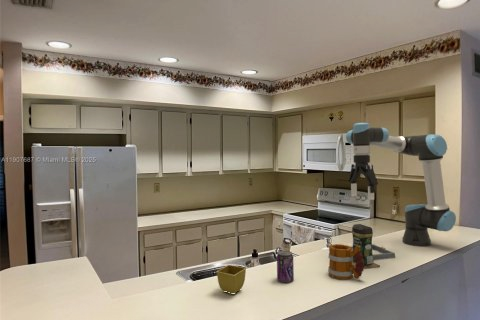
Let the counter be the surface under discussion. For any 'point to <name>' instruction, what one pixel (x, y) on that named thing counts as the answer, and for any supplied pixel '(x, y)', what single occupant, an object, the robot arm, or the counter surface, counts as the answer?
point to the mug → (345, 262)
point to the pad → (367, 265)
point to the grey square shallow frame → (385, 252)
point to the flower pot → (231, 278)
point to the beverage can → (285, 266)
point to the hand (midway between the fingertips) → (362, 198)
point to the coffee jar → (363, 242)
